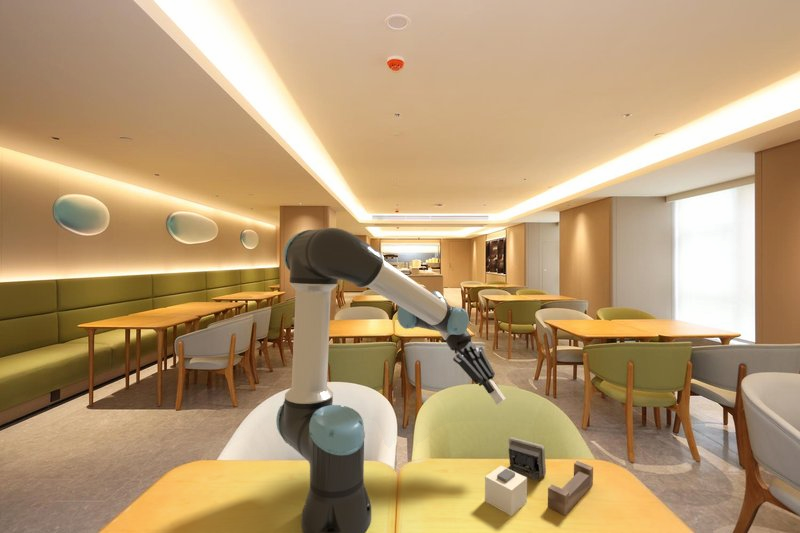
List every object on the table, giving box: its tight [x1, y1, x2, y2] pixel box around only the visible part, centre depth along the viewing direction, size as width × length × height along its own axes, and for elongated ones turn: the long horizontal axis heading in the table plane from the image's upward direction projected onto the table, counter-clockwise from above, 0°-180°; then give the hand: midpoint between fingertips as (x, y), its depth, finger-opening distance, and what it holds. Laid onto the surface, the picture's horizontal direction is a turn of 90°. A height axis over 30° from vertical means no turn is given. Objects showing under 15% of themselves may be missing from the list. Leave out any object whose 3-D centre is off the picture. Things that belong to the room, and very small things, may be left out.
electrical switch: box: [507, 436, 547, 482], centre depth 98 cm, size 9×5×9 cm, turn 57°
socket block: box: [484, 465, 528, 517], centre depth 88 cm, size 7×7×7 cm
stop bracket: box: [547, 460, 594, 516], centre depth 90 cm, size 4×17×4 cm, turn 133°
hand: (501, 401), depth 104 cm, fingers closed
